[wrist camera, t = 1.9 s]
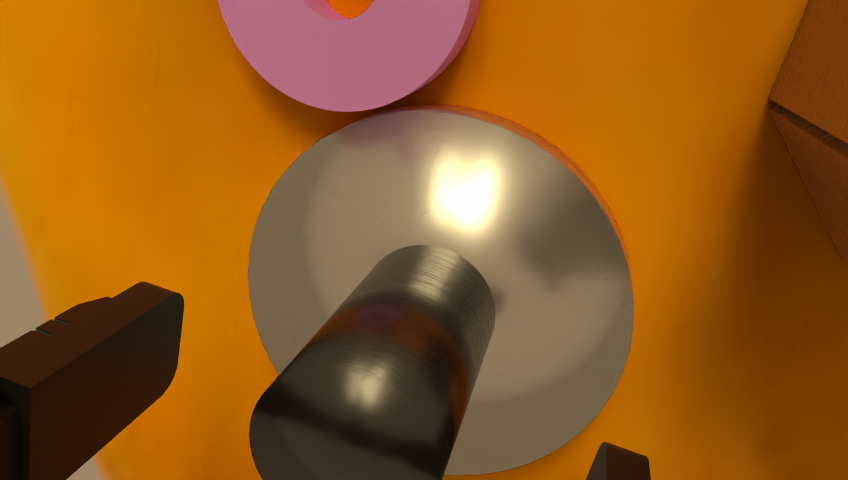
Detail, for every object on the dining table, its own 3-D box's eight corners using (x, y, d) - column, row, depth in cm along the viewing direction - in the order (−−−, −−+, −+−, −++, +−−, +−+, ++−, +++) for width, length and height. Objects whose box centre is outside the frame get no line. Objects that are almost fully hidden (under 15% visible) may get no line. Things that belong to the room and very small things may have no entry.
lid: (296, 59, 16) (98, 97, 10) (691, 166, 14) (754, 290, 8) (250, 381, 19) (82, 561, 13) (565, 493, 18) (542, 754, 12)
